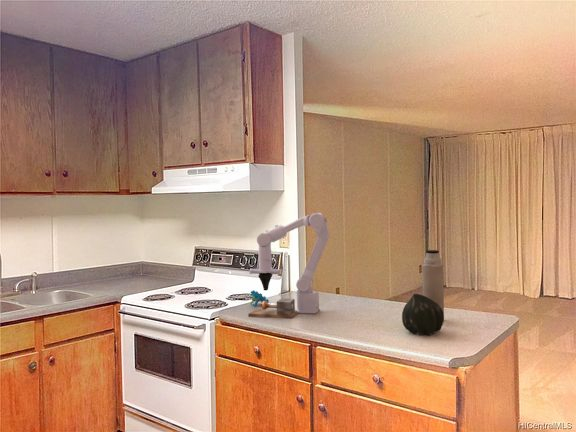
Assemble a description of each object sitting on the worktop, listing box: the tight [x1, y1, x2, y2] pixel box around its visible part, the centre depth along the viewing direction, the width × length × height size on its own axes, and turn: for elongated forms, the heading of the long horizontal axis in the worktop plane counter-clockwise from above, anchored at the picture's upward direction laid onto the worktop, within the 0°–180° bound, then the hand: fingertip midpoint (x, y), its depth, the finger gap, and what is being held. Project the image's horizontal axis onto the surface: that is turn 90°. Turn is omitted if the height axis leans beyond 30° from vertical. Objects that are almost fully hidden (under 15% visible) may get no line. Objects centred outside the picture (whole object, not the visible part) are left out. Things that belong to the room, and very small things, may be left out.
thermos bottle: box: [421, 249, 445, 315], centre depth 188 cm, size 8×8×28 cm
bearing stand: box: [247, 297, 299, 319], centre depth 204 cm, size 20×9×6 cm, turn 74°
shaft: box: [261, 301, 293, 310], centre depth 203 cm, size 13×4×4 cm, turn 74°
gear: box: [249, 290, 270, 307], centre depth 223 cm, size 11×6×10 cm
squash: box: [401, 293, 445, 336], centre depth 172 cm, size 14×15×15 cm
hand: (265, 290), depth 211 cm, fingers closed
